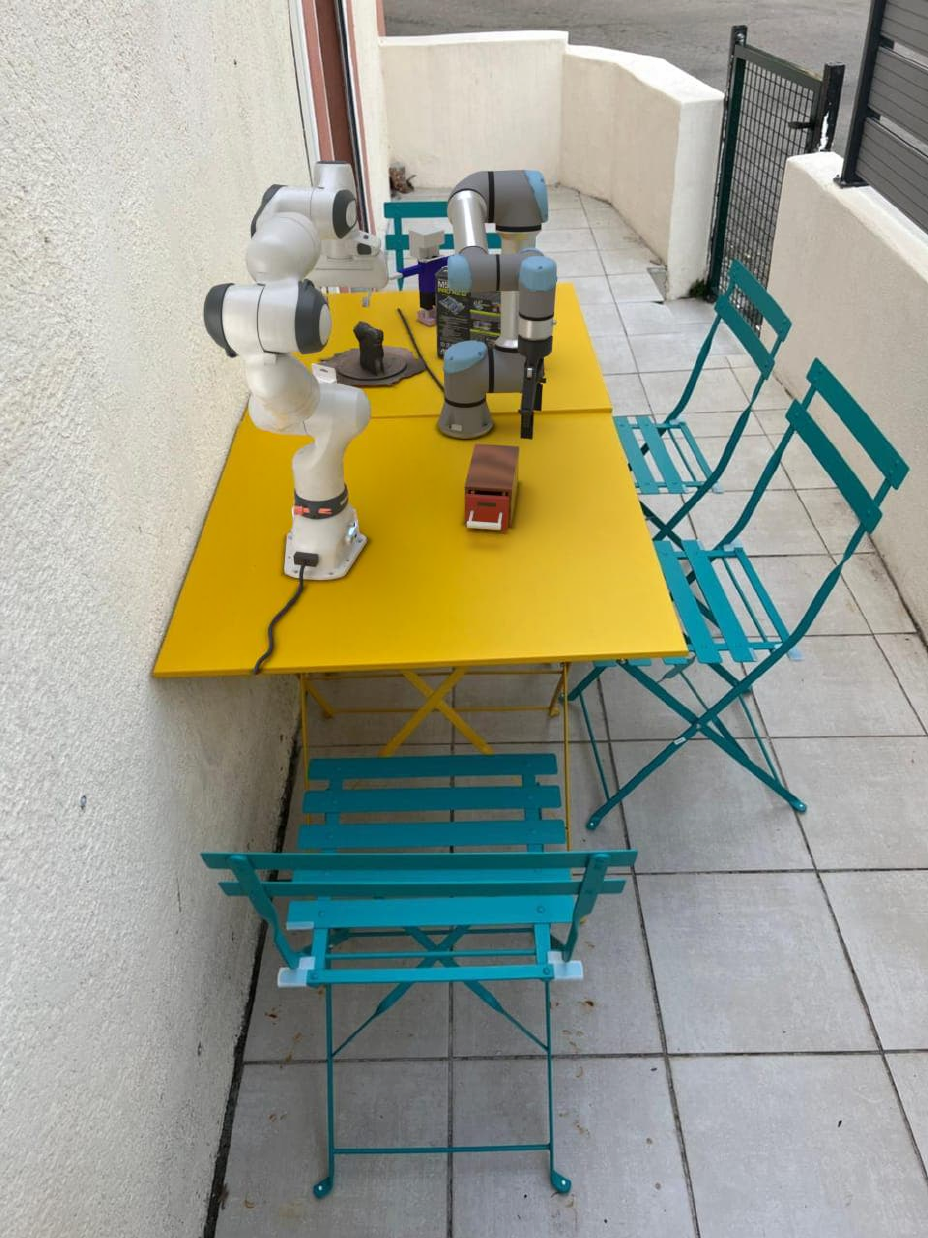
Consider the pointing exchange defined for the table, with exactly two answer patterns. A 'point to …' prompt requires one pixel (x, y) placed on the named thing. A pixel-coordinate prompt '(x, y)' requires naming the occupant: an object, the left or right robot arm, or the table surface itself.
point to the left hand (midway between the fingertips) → (345, 305)
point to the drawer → (487, 510)
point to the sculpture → (372, 360)
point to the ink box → (324, 374)
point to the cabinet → (494, 472)
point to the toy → (425, 267)
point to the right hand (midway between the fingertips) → (531, 423)
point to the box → (465, 315)
